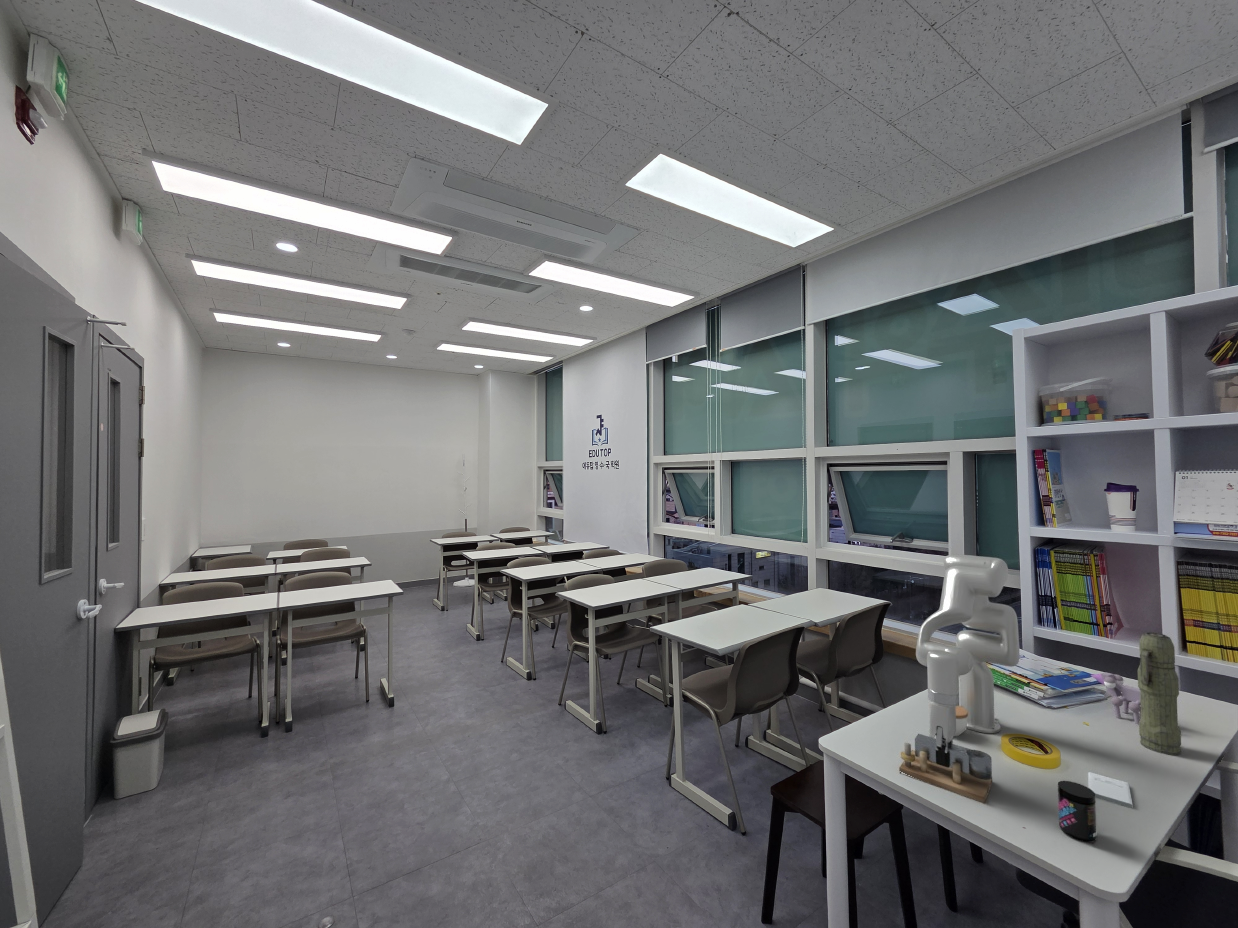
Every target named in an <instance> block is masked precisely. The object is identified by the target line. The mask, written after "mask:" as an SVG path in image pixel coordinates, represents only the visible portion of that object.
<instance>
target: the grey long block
mask: <svg viewBox="0 0 1238 928" xmlns="http://www.w3.org/2000/svg"><path fill="white" fill-rule="evenodd" d="M942 744H943V745H944V746H945V743H942ZM914 751H915V756H916V757H919V758H920V751H923V752H926V753H927V760H929V761H932V762H935V763H936V737H934V738H930V736H929V735H925V734H923V733H917V735H916V736H915V738H914ZM948 752H949V759H950V766H949V767H950V768H953V762H958V763H960V766H961V771H962V772H965V773H968V774H970V775H971V776H973V777H976V778H979V779H983V780H989V779H991V778H992V779H993V767H992V766H993V765H992V762H993V760H992V756H991V755H989V754H988V753H987V752H984V751H982V750H977V749H971V748H968V747H965V746H962V745H961V746H960V745H958V744H954V743H953V744H951V743H948Z"/></svg>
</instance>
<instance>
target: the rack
mask: <svg viewBox="0 0 1238 928" xmlns="http://www.w3.org/2000/svg"><path fill="white" fill-rule="evenodd" d="M903 745H904V750H902V751H901V752H900V758H901V760H903V762H902V763H901V764H900V766H899V767H898V768H899V770H898V771H901V772H903V773H905V774H907V775H910V776H912V777H914V778H913V779H915V778H917V779H916V780H918V779H919V781H921V780H922V782H925V783H927V784H930V785H932V786H936V787H938V788H941V789H943V790H946V791H949V792H952V793H954V794H957V795H959V796H963V797H966V798H968V799H971V800H974V801H976V802H980V803H981V804H985V803H986V800H987V797H988V794H989V792H990V789H991V786H992V784H993V777H992V778H991V779H989V780H983V779H979V778H976V777H973V776H971V775H970V774H968V773H965V772H962V771H961V766H960V763H958V762H953V768H950V767H949V768H947V767H944V766H941V765H938V764H937V763H935V762H932V761H929V760H927V753H926V752H923V751H920V758H919V757H916V756H915V749H912V745H911V743H908V742H904V744H903ZM907 775H906V776H907ZM910 776H909V777H910ZM912 777H911V778H912Z"/></svg>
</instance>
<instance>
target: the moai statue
mask: <svg viewBox="0 0 1238 928" xmlns="http://www.w3.org/2000/svg"><path fill="white" fill-rule="evenodd" d="M1138 643H1139V665H1138V668H1137V687H1138V689H1140V695H1141V706H1140V707H1141V718H1140V721H1139V725H1138V730H1139V731H1138V733H1139V737H1140V741H1139V742H1140V744H1141V746H1142V747H1144V748H1146V749H1148V750H1151V751H1152V752H1156V753H1160V754H1164V755H1168V756H1180V755H1181V754H1182V753H1181V746H1182V732H1181V729H1180V727H1179V720H1178V717H1179V716H1178V697H1179V695H1180V687H1179V686H1180V683H1179V681H1180V680H1179V676H1178V674H1177V671H1176V666H1175V663H1176V658H1175V657H1176V654H1175V653H1176V652H1175V644H1174V643H1173V641H1172V638H1171V637H1169V636H1168V635H1166V634H1162V633H1158V632H1151V631H1149V632H1148V631H1147V632H1144V633H1142V635H1141V637H1140V638H1139V642H1138Z"/></svg>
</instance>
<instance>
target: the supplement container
mask: <svg viewBox="0 0 1238 928" xmlns="http://www.w3.org/2000/svg"><path fill="white" fill-rule="evenodd" d="M1096 799H1097V798H1096V796H1095V793H1094V792H1093V791H1092V790H1091V789H1089V786H1085V785H1084V784H1081V783H1078V782H1074V781H1070V780H1060V781H1058V782H1057V800H1058V801H1057V802H1058V825H1059V828H1060V830H1061V831H1062V832H1063V833H1064V834H1065V835H1066V836H1067V837H1070V838H1072V839H1074V840H1077V841H1079V842H1083V843H1093V842H1095V841H1096V840H1097V839H1098V837H1097V835H1098V833H1097V809H1096V808H1097V807H1096V804H1097V801H1096Z"/></svg>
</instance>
